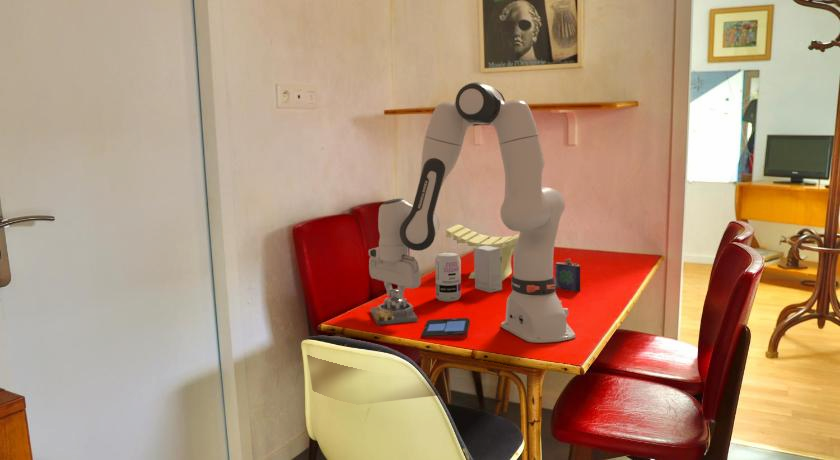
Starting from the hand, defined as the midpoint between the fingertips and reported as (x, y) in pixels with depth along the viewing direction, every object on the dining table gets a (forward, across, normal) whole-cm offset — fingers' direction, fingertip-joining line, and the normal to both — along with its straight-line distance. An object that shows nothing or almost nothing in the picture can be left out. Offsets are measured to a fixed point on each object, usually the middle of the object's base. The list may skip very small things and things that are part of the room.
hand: (395, 297), depth 199 cm
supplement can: (+6, 0, -23) cm, 24 cm away
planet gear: (+3, 0, 0) cm, 3 cm away
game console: (+6, -22, 0) cm, 23 cm away
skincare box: (+6, -2, -41) cm, 41 cm away
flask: (+6, -21, -59) cm, 63 cm away
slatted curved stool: (+6, +12, -57) cm, 59 cm away
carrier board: (+5, -1, +2) cm, 6 cm away
